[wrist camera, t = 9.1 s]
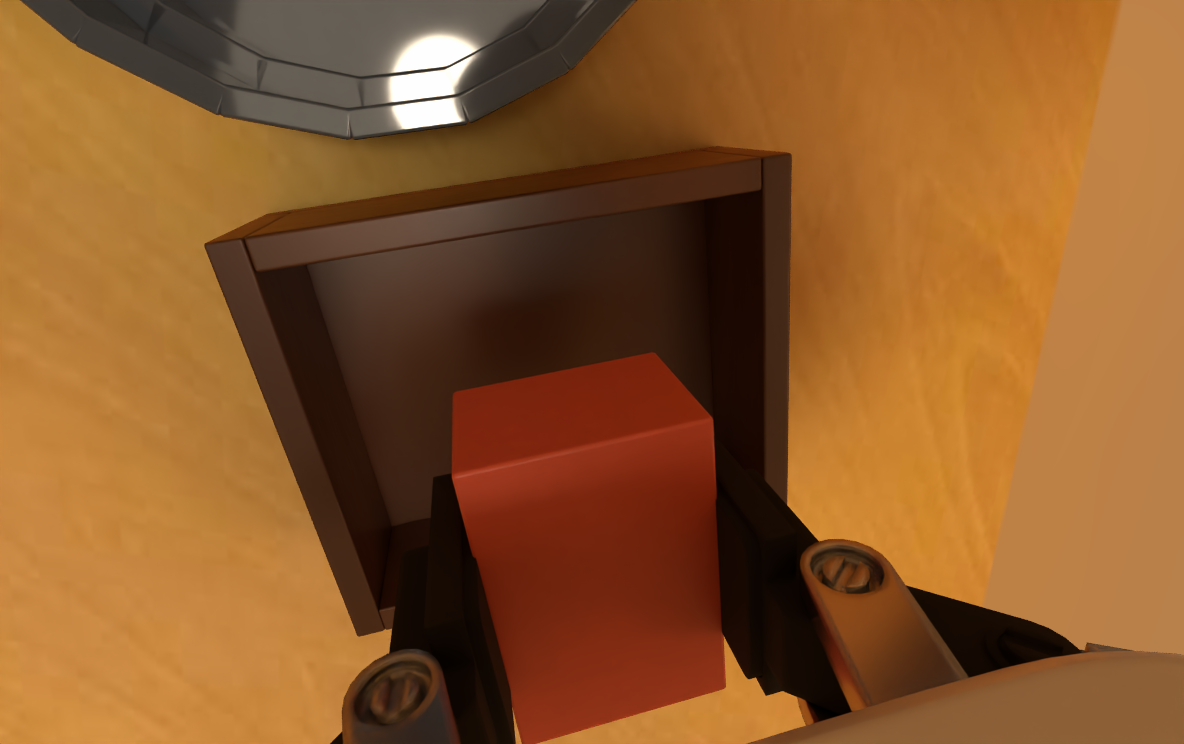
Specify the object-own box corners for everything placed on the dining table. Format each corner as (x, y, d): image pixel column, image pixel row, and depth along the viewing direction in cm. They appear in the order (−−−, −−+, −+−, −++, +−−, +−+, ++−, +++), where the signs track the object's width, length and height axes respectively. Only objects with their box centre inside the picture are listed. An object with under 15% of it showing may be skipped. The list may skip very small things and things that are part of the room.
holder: (718, 146, 19) (793, 152, 14) (729, 458, 23) (787, 530, 19) (265, 214, 17) (201, 243, 13) (376, 538, 21) (357, 638, 17)
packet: (654, 350, 12) (714, 418, 9) (675, 581, 14) (727, 689, 11) (452, 391, 11) (450, 475, 8) (509, 624, 14) (522, 749, 11)
